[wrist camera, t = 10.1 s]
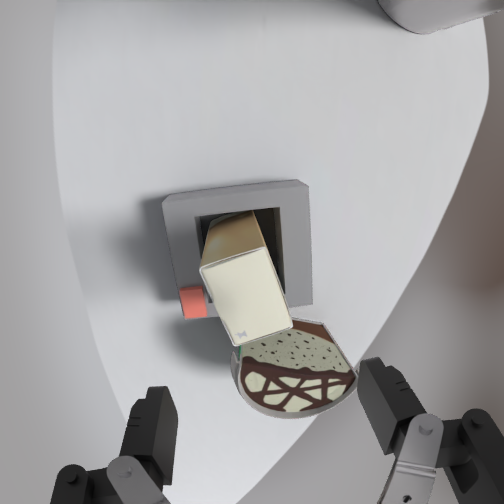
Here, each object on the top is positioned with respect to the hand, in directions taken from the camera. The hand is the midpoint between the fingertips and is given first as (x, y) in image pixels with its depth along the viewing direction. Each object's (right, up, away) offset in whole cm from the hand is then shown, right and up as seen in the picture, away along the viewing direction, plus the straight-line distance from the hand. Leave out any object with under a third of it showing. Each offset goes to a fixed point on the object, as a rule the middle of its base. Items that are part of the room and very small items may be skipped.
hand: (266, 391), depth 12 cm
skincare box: (-2, +7, +19) cm, 20 cm away
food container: (+2, -4, +23) cm, 24 cm away
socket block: (-2, +7, +19) cm, 20 cm away
